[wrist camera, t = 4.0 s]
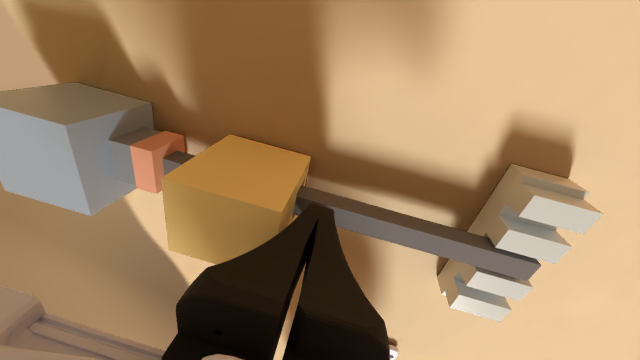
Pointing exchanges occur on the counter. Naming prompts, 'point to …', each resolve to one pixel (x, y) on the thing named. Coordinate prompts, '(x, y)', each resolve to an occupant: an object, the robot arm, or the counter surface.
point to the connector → (71, 144)
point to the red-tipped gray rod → (350, 214)
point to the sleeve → (231, 198)
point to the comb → (517, 237)
